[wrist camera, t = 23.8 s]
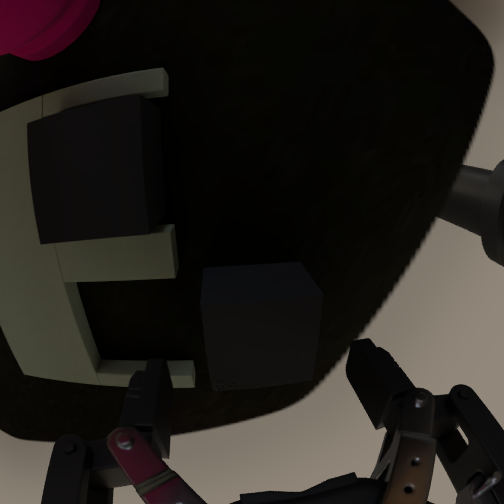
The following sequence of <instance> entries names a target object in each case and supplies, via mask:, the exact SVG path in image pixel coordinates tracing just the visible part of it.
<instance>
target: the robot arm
mask: <svg viewBox="0 0 504 504" xmlns="http://www.w3.org/2000/svg"><path fill="white" fill-rule="evenodd" d="M346 375H347V378H348V380H349V382H350V384H351V385H352V387H353V389H354V391H355V393H356V394H357V396H358V398H359V400H360V402H361V403H362V405H363V407H364V409H365V411H366V413H367V414H368V416H369V418H370V420H371V422H372V424H373V425H374V427H375V429H376V430H377V429H380V428H383V427H385V428H386V430H387V432H386V433H385V437H384V440H383V444H382V447H381V451H380V454H379V457H378V460H377V464H376V467H375V469H374V471H373V473H372V475H371V477H370V478H357V476H356V474H355V472H352V473H349V474H346V475H342V476H339V477H335V478H331V479H328V480H326V481H324V482H322V483H320V484H318V485H316V486H314V487H311V488H309V489H307V490H305V491H302V492H283V491H265V492H256V493H247V494H240V500H239V501H235V502H233V503H230V504H434V503H431V502H429V501H427V499H428V495H429V490H430V485H431V480H432V474H433V469H434V462H435V455H436V454H437V456H438V458H439V459H440V461H441V463H442V465H443V467H444V469H445V471H446V472H447V474H448V476H449V478H450V480H451V482H452V484H453V486H454V488H455V490H456V492H457V494H458V495H457V498H456V504H504V430H503V429H502V427H501V426H500V424H499V423H498V422H497V420H496V419H495V418H494V416H493V415H492V414H491V412H490V411H489V410H488V408H487V407H486V406H485V404H484V403H483V402H482V400H481V399H480V398H479V397H478V395H477V394H476V393H475V392H474V390H473V389H472V388H470V387H469V386H466V385H463V384H459V385H455V386H454V387H453V388H452V389H451V391H450V393H449V394H445V395H432V393H431V392H429V391H428V390H426V389H424V388H416V387H415V386H414V385H413V383H412V382H411V381H410V379H409V378H408V377H407V376H406V374H405V373H404V371H403V370H402V369H401V368H400V367H399V365H398V364H397V362H395V361H394V359H393V357H392V356H391V355H390V354H389V352H387V351H386V350H384V349H383V348H381V347H376V346H375V345H374V343H373V342H372V341H371V339H369V338H366V339H360V340H355V341H353V342H352V343H351V347H350V351H349V355H348V359H347V364H346ZM173 397H174V392H173V384H172V380H171V376H170V372H169V368H168V364H167V360H166V359H165V358H149V359H148V360H147V364H146V368H145V370H137V371H136V372H135V373H134V374H133V376H132V377H131V378H130V381H129V385H128V390H127V392H126V398H125V400H124V404H123V408H122V413H121V417H120V421H119V425H118V428H116V429H114V430H113V431H112V432H111V433H110V434H109V435H108V437H107V438H104V439H100V440H93V441H86V442H85V441H84V440H83V439H82V438H81V437H80V436H78V435H75V434H66V435H63V436H61V437H60V438H59V439H57V441H56V442H55V444H54V447H53V451H52V455H51V459H50V463H49V467H48V471H47V476H46V481H45V485H44V490H43V496H42V501H41V504H113V489H114V487H121V486H127V485H133V486H134V488H135V489H136V491H137V493H138V494H139V496H140V497H141V498H142V500H143V501H144V502H145V504H207V503H206V502H205V501H204V500H203V499H202V498H201V497H200V496H199V495H198V494H196V492H195V491H194V490H193V489H192V488H191V487H190V486H189V485H188V484H187V483H186V482H185V481H184V480H183V479H182V478H181V477H180V476H179V475H178V474H177V473H176V472H175V471H172V470H171V469H170V468H169V467H168V465H166V463H165V462H164V461H163V460H162V458H168V459H169V454H170V436H171V422H172V409H173ZM459 426H460V427H461V429H462V430H463V432H464V433H465V435H466V437H467V438H468V442H469V444H468V445H467V443H466V442H465V440H464V439H463V437H462V436H461V434H460V432H459V431H458V429H457V428H458V427H459Z"/></svg>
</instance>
